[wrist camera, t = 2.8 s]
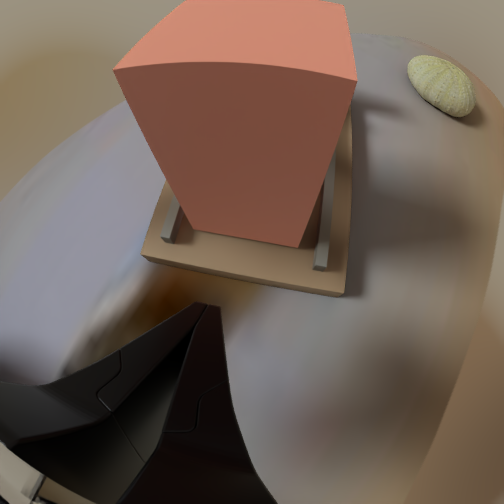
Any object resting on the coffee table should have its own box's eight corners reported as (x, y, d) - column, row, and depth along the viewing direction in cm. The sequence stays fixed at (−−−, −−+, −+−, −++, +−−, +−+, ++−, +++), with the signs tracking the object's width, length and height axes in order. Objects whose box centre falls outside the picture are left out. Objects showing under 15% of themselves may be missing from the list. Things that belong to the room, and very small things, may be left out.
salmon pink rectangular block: (297, 248, 15) (357, 81, 5) (193, 229, 16) (112, 69, 5) (309, 162, 17) (343, 5, 7) (219, 148, 17) (191, -5, 7)
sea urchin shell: (393, 50, 23) (446, 33, 17) (417, 93, 28) (463, 79, 22) (414, 92, 20) (479, 74, 14) (435, 139, 25) (490, 125, 19)
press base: (336, 297, 16) (375, 273, 10) (149, 261, 17) (104, 224, 11) (345, 99, 21) (360, 49, 16) (219, 82, 22) (212, 31, 17)
